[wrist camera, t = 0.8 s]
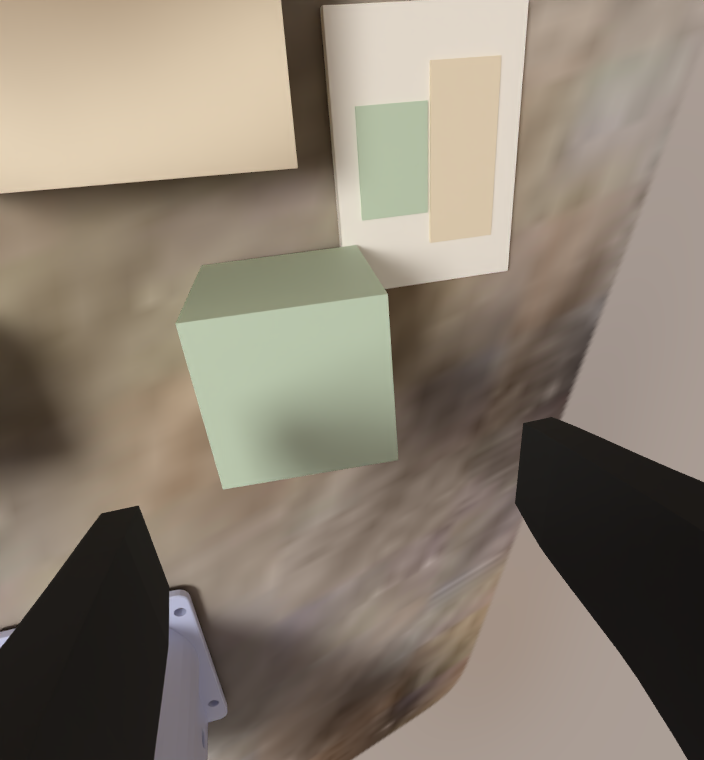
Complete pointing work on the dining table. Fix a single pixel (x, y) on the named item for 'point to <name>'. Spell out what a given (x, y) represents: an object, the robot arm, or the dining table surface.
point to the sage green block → (291, 364)
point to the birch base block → (141, 91)
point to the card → (425, 132)
